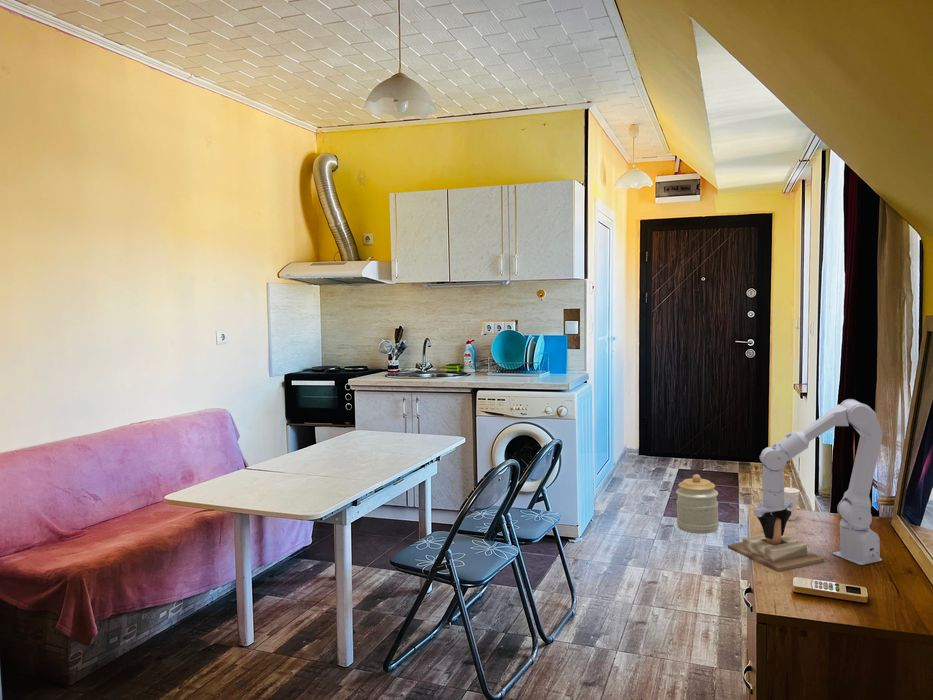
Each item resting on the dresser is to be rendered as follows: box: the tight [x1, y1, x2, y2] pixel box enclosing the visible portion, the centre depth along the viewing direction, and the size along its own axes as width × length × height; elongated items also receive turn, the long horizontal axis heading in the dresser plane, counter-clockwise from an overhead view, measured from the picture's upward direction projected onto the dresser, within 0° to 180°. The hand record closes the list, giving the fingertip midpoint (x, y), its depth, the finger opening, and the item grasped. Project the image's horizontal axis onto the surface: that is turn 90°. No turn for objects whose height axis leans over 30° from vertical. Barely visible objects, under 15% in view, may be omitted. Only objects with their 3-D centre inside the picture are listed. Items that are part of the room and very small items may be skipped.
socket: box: [727, 533, 825, 572], centre depth 200 cm, size 20×16×4 cm
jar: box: [675, 473, 720, 534], centre depth 226 cm, size 13×13×18 cm
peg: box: [766, 518, 781, 546], centre depth 200 cm, size 4×4×8 cm
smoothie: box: [784, 476, 801, 521], centre depth 231 cm, size 6×6×14 cm
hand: (774, 536), depth 200 cm, fingers closed on peg, 4 cm apart
